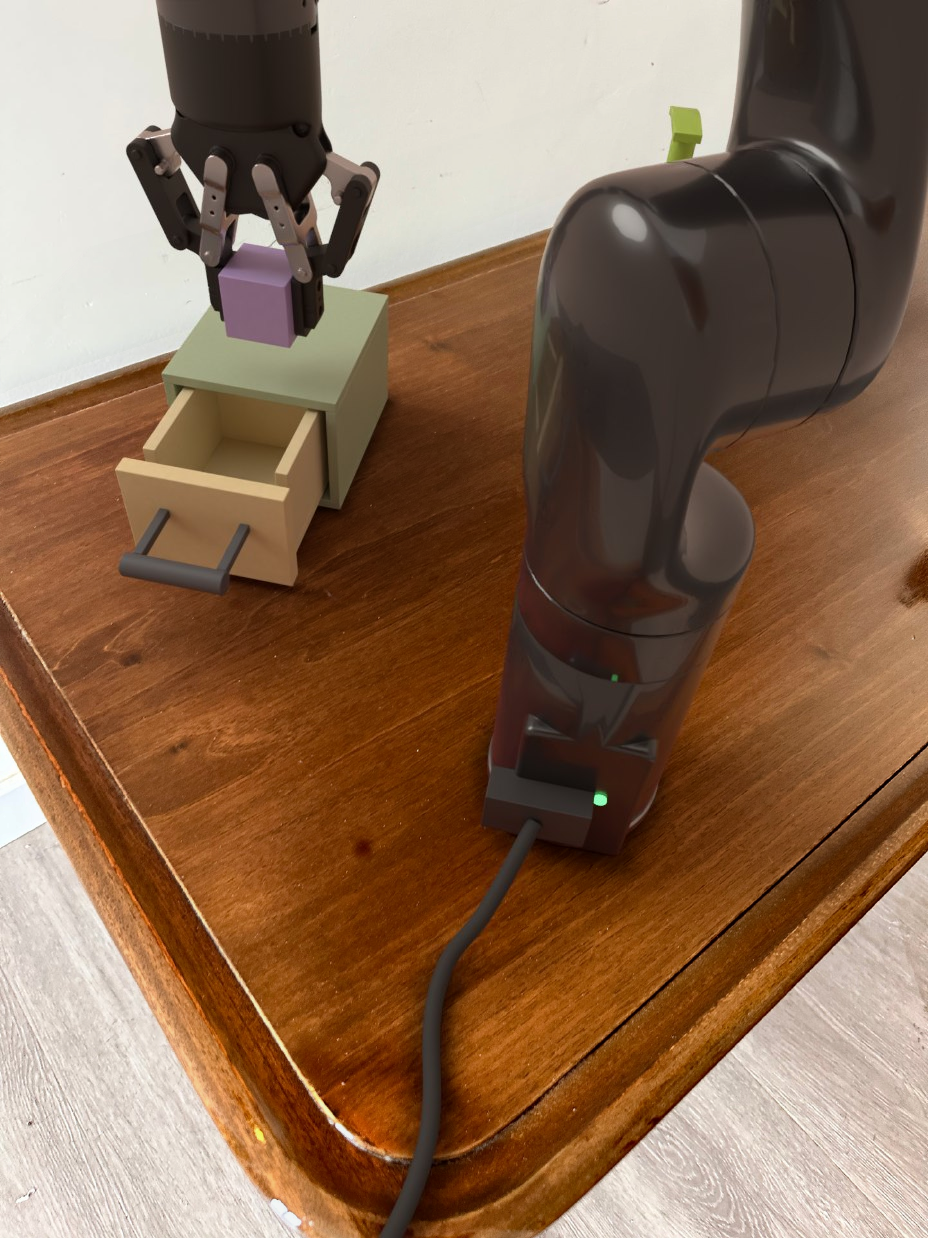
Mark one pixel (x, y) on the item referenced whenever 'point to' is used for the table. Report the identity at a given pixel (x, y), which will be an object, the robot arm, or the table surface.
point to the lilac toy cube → (258, 296)
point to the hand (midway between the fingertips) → (269, 321)
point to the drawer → (223, 491)
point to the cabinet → (303, 373)
